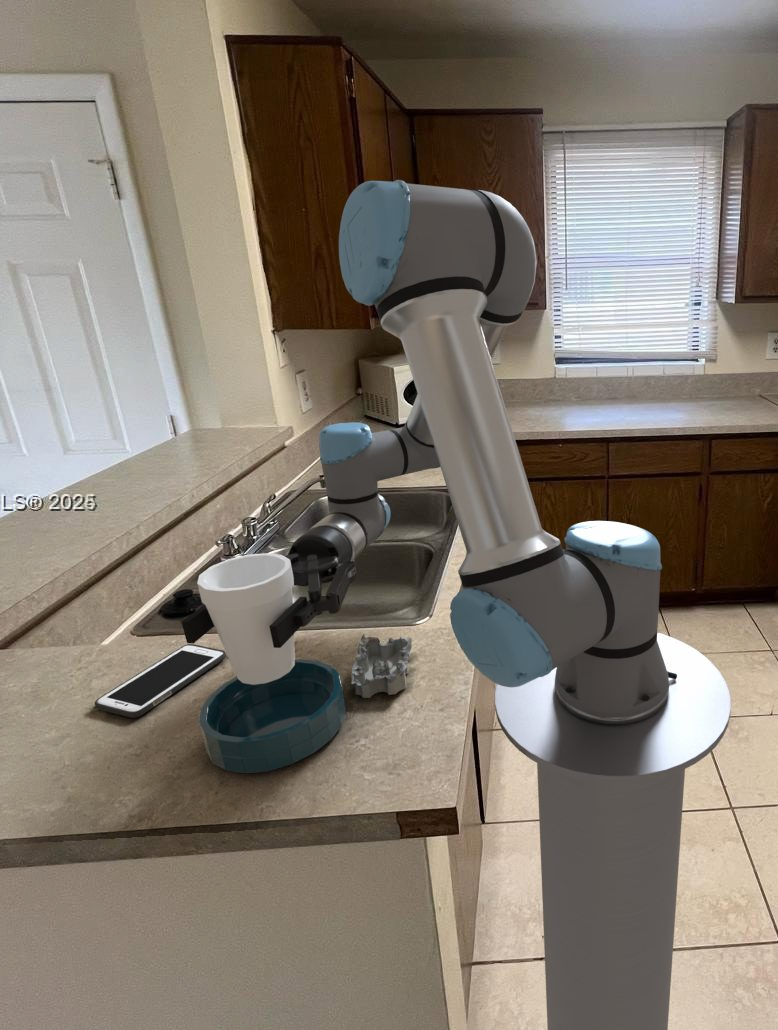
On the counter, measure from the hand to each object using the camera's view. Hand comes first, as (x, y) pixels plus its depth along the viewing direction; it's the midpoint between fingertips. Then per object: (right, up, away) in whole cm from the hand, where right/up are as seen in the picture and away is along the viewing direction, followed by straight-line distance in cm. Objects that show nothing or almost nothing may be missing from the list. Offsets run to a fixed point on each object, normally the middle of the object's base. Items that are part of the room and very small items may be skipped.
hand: (230, 635), depth 66 cm
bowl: (+1, -14, +10) cm, 17 cm away
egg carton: (+11, -10, +20) cm, 25 cm away
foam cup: (+1, -6, +7) cm, 9 cm away
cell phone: (-20, -11, +19) cm, 30 cm away
